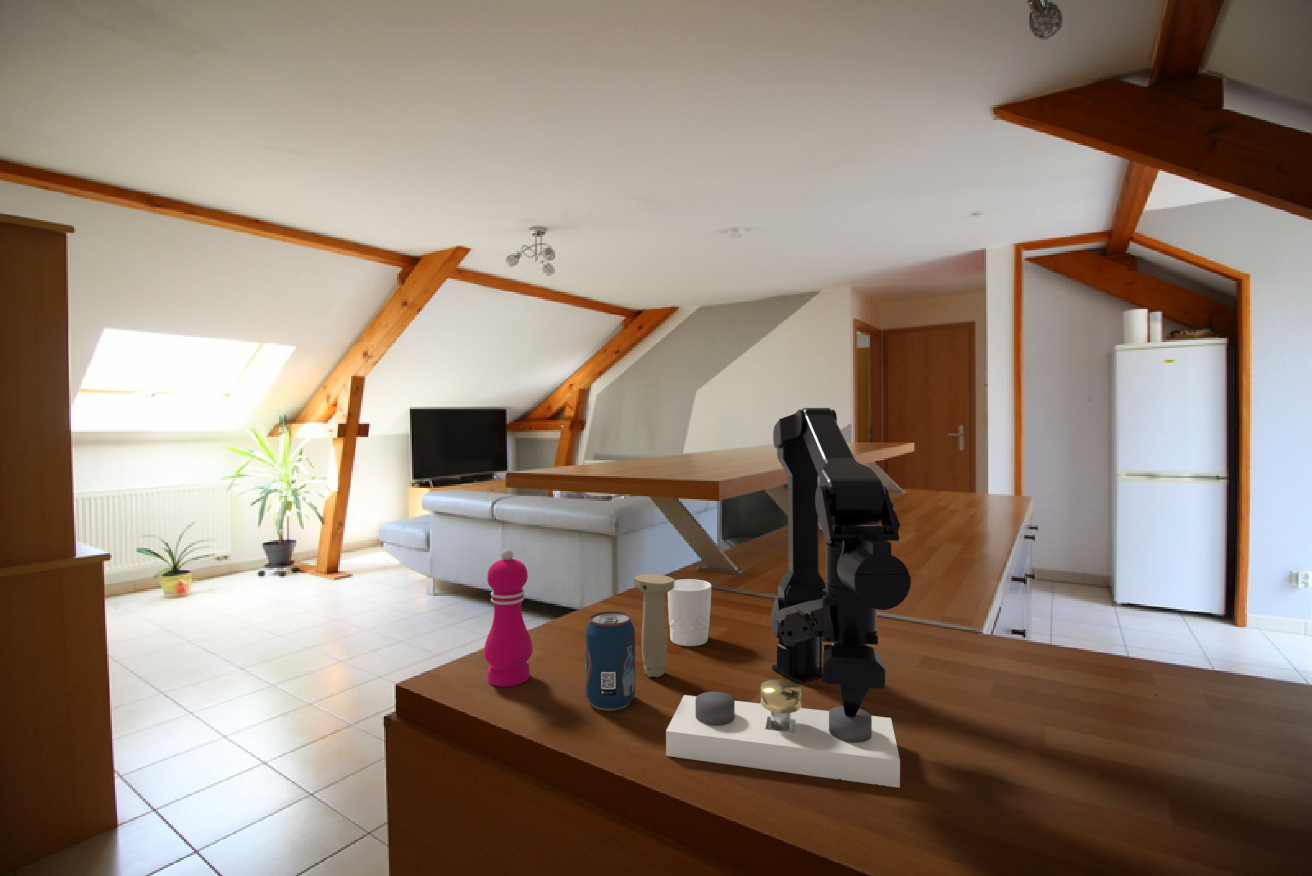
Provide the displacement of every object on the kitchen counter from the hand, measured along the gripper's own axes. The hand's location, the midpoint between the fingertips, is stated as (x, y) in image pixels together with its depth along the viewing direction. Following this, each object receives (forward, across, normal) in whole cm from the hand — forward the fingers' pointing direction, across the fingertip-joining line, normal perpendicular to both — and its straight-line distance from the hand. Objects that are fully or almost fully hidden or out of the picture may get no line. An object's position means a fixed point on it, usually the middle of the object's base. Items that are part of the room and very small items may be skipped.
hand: (849, 715), depth 75 cm
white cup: (+5, -34, -26) cm, 43 cm away
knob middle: (+2, 0, -8) cm, 8 cm away
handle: (+5, -18, -28) cm, 34 cm away
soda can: (+5, -7, -32) cm, 33 cm away
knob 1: (+5, 0, -16) cm, 17 cm away
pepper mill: (+5, -11, -50) cm, 51 cm away
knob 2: (+5, 0, 0) cm, 5 cm away
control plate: (+5, 0, -8) cm, 9 cm away
